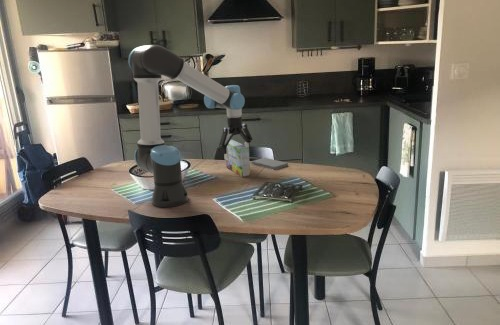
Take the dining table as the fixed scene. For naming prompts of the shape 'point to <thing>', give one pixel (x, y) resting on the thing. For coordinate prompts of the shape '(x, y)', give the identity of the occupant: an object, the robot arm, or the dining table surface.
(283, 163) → the slate board
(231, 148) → the snack box
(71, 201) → the dining table surface
